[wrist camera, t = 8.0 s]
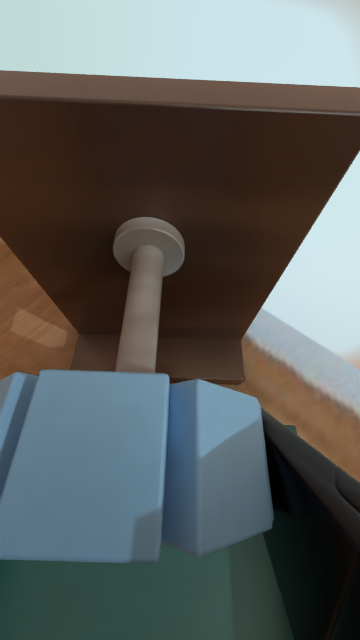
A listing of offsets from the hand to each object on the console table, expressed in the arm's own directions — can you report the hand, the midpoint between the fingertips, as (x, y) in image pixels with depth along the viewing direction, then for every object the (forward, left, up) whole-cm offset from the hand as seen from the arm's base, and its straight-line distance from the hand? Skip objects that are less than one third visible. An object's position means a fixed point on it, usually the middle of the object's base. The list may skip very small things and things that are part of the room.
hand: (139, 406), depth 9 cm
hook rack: (+1, +3, -9) cm, 9 cm away
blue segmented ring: (0, -1, +1) cm, 2 cm away
